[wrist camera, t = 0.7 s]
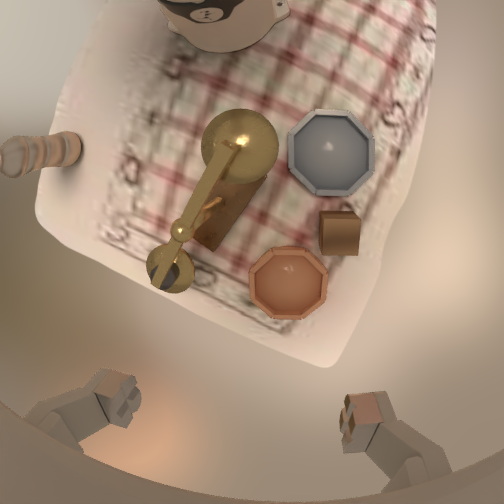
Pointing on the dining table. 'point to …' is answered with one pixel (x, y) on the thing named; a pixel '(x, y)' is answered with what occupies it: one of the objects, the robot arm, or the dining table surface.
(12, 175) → the plastic bottle
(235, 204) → the brass balance
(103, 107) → the dining table surface
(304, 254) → the terracotta dish
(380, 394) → the robot arm
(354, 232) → the walnut block
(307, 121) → the slate dish
